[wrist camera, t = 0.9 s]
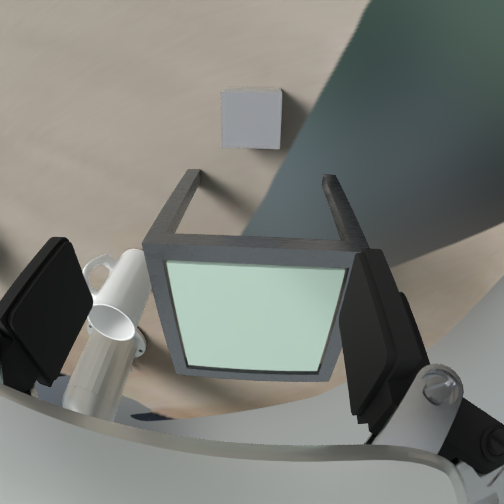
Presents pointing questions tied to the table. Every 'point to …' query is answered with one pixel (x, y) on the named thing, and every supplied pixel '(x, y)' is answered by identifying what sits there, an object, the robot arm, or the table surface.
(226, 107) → the grey cube
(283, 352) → the trapdoor
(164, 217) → the stand
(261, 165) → the table surface
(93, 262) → the mug
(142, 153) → the table surface
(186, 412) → the table surface
